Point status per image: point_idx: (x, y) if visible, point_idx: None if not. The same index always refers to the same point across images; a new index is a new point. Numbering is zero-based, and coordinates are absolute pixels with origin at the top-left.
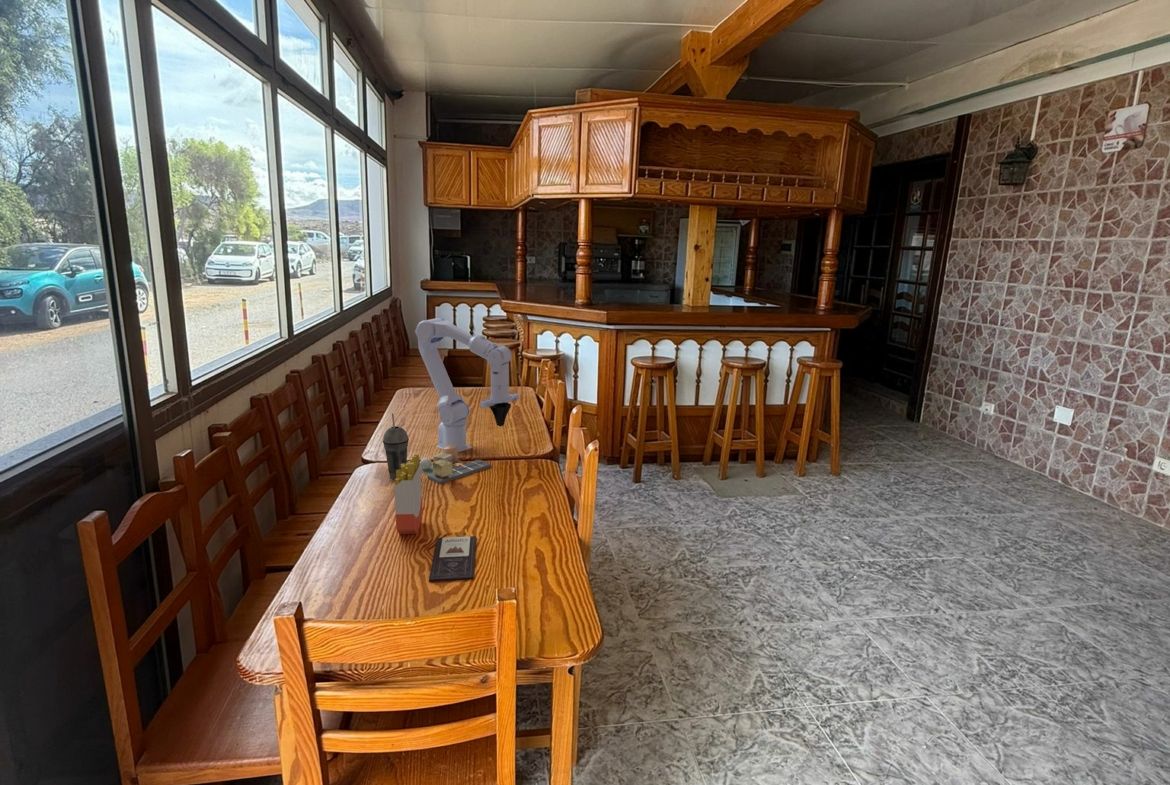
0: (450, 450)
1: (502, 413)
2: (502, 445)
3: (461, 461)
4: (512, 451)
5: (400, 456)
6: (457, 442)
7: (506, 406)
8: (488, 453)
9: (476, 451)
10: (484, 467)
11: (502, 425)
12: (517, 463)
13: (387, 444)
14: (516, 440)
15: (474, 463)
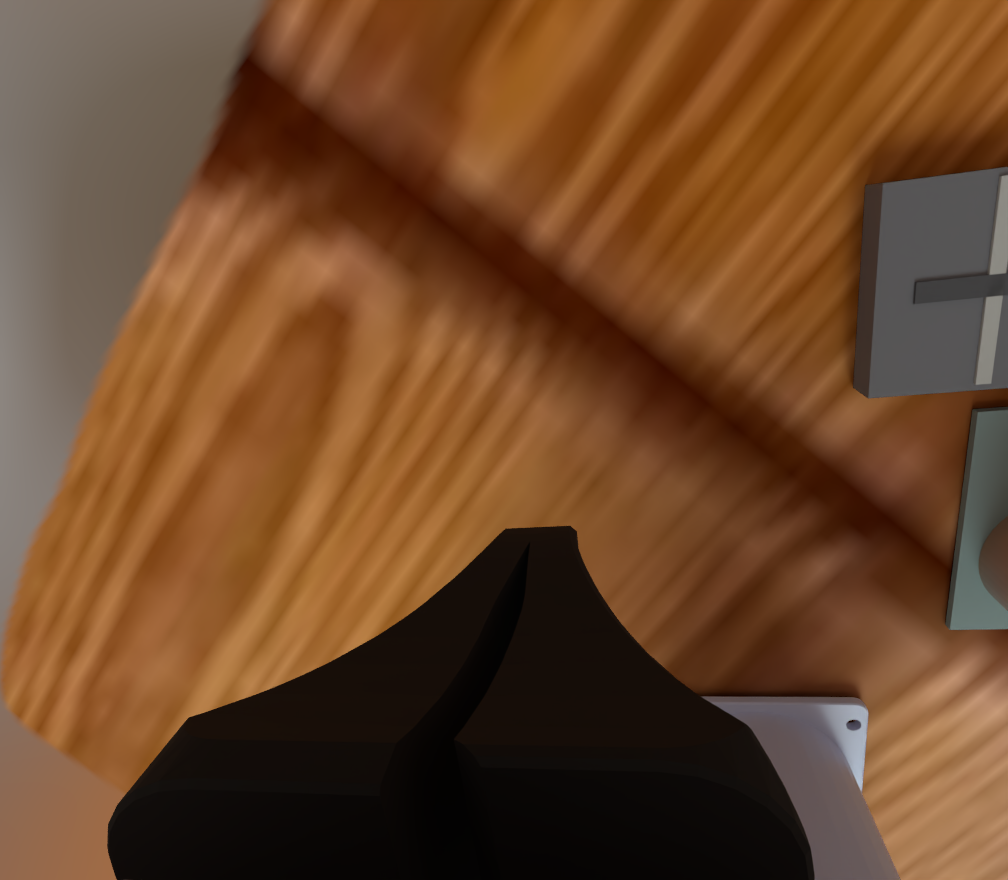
0: None
1: (551, 648)
2: (405, 599)
3: (967, 507)
4: (414, 435)
5: None
6: (823, 781)
7: (382, 762)
8: (614, 528)
9: (663, 627)
10: (987, 170)
11: (536, 529)
12: (567, 120)
13: None
14: (251, 614)
15: (999, 324)
